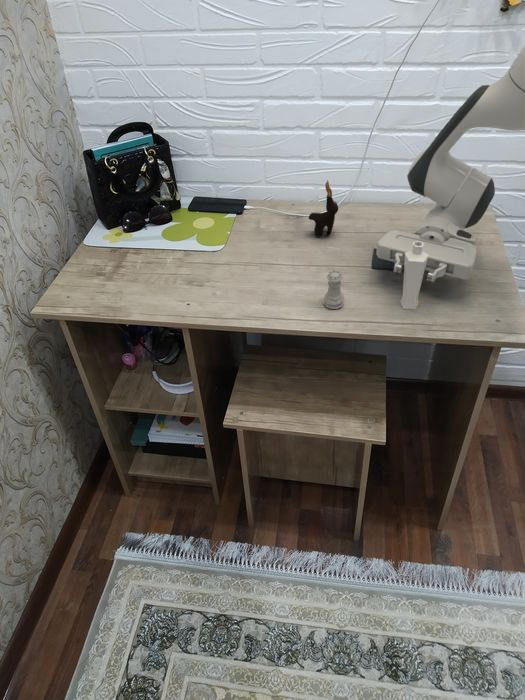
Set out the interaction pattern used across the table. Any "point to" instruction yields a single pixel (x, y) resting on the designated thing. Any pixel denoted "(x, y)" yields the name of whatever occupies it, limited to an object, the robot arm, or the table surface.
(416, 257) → the perfume bottle
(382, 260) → the mat
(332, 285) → the rook chess piece
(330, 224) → the figurine
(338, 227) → the table surface
